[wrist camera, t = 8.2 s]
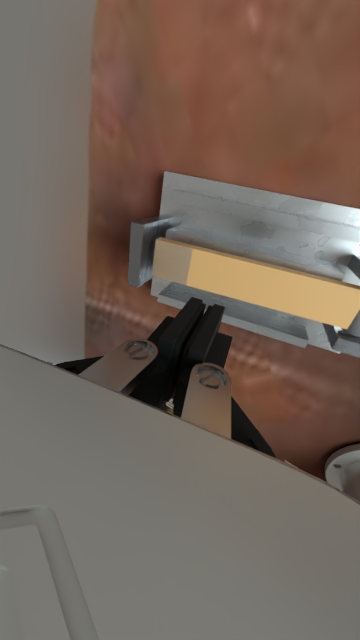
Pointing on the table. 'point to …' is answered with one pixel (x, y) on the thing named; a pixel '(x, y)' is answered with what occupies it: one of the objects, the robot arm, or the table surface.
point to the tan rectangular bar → (260, 283)
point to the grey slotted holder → (252, 250)
